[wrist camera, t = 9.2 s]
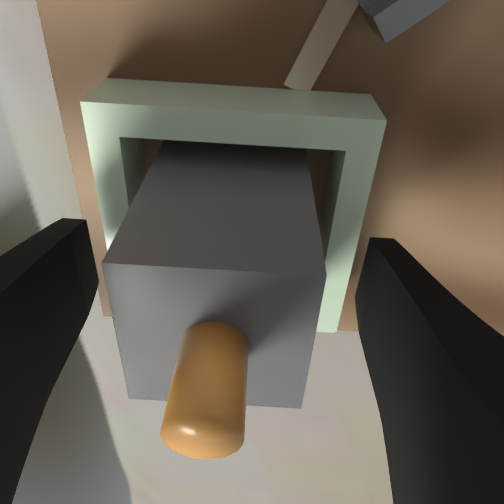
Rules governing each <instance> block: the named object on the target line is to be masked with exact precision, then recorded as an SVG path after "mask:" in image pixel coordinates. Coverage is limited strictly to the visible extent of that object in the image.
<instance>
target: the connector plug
mask: <svg viewBox="0 0 504 504" xmlns="http://www.w3.org/2000/svg"><path fill="white" fill-rule="evenodd" d="M102 268H103V273H104V278H105V283H106V288H107V293H108V298H109V303H110V308H111V313H112V318H113V323H114V328H115V332H116V337H117V342H118V347H119V352H120V357H121V362H122V367H123V372H124V377H125V382H126V387H127V392H128V397H129V399H144V400H161V401H167V405H166V409H165V414H164V418H163V423H162V427H161V438H162V440H163V441H164V443H165V444H166V445H167V446H168V447H169V448H171V449H172V450H174V451H176V452H178V453H180V454H183V455H186V456H189V457H194V458H201V459H214V458H221V457H225V456H228V455H231V454H233V453H234V452H236V451H237V450H239V449H240V448H241V446H242V445H243V442H244V431H245V411H246V405H248V406H265V407H283V408H300V409H301V406H302V401H303V396H304V391H305V386H306V381H307V375H308V370H309V365H310V360H311V355H312V350H313V344H314V339H315V334H316V329H317V324H318V319H319V314H320V308H321V303H322V298H323V293H324V288H325V283H326V277H327V274H326V268H325V262H324V256H323V250H322V243H321V237H320V231H319V225H318V219H317V213H316V207H315V201H314V194H313V188H312V182H311V176H310V170H309V164H308V158H307V152H306V148H292V147H275V146H259V145H243V144H227V143H210V142H194V141H178V140H164V141H163V143H162V145H161V146H160V148H159V150H158V152H157V154H156V156H155V158H154V160H153V162H152V164H151V166H150V168H149V170H148V172H147V174H146V176H145V178H144V180H143V182H142V184H141V186H140V188H139V190H138V192H137V194H136V196H135V198H134V200H133V202H132V204H131V206H130V208H129V210H128V211H127V213H126V215H125V217H124V219H123V221H122V223H121V225H120V227H119V229H118V231H117V233H116V235H115V237H114V239H113V241H112V243H111V245H110V247H109V249H108V251H107V253H106V255H105V257H104V259H103V261H102Z"/></svg>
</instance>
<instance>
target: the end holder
mask: <svg viewBox="0 0 504 504" xmlns="http://www.w3.org/2000/svg"><path fill="white" fill-rule="evenodd" d="M80 105H81V110H82V115H83V121H84V126H85V132H86V137H87V143H88V148H89V154H90V159H91V164H92V170H93V175H94V181H95V186H96V192H97V197H98V203H99V208H100V213H101V219H102V224H103V230H104V235H105V241H106V246H107V251H108V249H109V247H110V245H111V243H112V241H113V239H114V237H115V235H116V233H117V231H118V229H119V227H120V225H121V223H122V221H123V219H124V217H125V215H126V213H127V211H128V210H129V208H130V206H131V204H132V202H133V200H134V198H135V196H136V194H137V192H138V190H139V188H140V186H141V184H142V182H143V180H144V178H145V176H146V170H145V160H144V151H143V141H142V138H145V139H161V140H178V141H194V142H210V143H227V144H243V145H259V146H275V147H292V148H308V149H324V150H331V155H330V161H329V167H328V173H327V179H326V185H325V191H324V197H323V203H322V209H321V215H320V221H319V231H320V237H321V243H322V250H323V256H324V262H325V268H326V274H327V277H326V283H325V288H324V293H323V298H322V303H321V308H320V314H319V319H318V324H317V329H316V332H331V333H336V331H337V327H338V323H339V319H340V315H341V311H342V306H343V302H344V298H345V294H346V290H347V285H348V281H349V277H350V273H351V269H352V265H353V260H354V256H355V252H356V248H357V244H358V240H359V235H360V231H361V227H362V223H363V219H364V214H365V210H366V206H367V202H368V198H369V194H370V189H371V185H372V181H373V177H374V173H375V169H376V164H377V160H378V156H379V152H380V148H381V143H382V139H383V135H384V131H385V127H386V123H387V120H386V118H385V116H384V115H383V113H382V111H381V110H380V108H379V107H378V105H377V103H376V102H375V100H374V98H373V97H372V95H371V94H360V93H344V92H328V91H311V90H310V91H295V90H294V89H279V88H263V87H247V86H230V85H214V84H198V83H182V82H166V81H149V80H133V79H117V78H105V79H104V80H103V81H102V82H101V83H100V84H99V85H98V86H97V87H95V88H94V89H93V90H92V91H91V92H90V93H89V94H88V95H87V96H85V97H84V98H83V99H82V100H81V101H80Z"/></svg>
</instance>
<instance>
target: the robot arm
mask: <svg viewBox="0 0 504 504" xmlns="http://www.w3.org/2000/svg"><path fill="white" fill-rule="evenodd" d="M98 284H99V278H98V273H97V268H96V263H95V258H94V254H93V249H92V244H91V239H90V234H89V230H88V225H87V220H84V219H68V218H62V219H60V220H58V221H56V222H54V223H53V224H51V225H49V226H48V227H46V228H44V229H43V230H41V231H39V232H38V233H36V234H35V235H33V236H31V237H30V238H28V239H27V240H25V241H24V242H22V243H20V244H19V245H17V246H16V247H14V248H12V249H11V250H9V251H8V252H6V253H4V254H3V255H1V256H0V504H12V501H13V497H14V495H15V491H16V488H17V485H18V482H19V479H20V476H21V472H22V470H23V467H24V464H25V461H26V458H27V455H28V451H29V449H30V446H31V443H32V440H33V437H34V435H35V432H36V429H37V426H38V424H39V421H40V418H41V416H42V413H43V410H44V407H45V405H46V402H47V400H48V398H49V396H50V393H51V391H52V389H53V386H54V384H55V383H56V381H57V379H58V377H59V374H60V372H61V370H62V368H63V366H64V364H65V362H66V360H67V358H68V356H69V354H70V352H71V350H72V348H73V346H74V344H75V342H76V340H77V338H78V336H79V334H80V332H81V330H82V328H83V326H84V324H85V322H86V319H87V317H88V315H89V312H90V309H91V306H92V303H93V301H94V297H95V294H96V291H97V287H98ZM355 306H356V315H357V323H358V330H359V335H360V339H361V343H362V347H363V351H364V354H365V358H366V362H367V366H368V370H369V374H370V377H371V381H372V385H373V389H374V392H375V396H376V400H377V404H378V408H379V412H380V417H381V422H382V427H383V433H384V440H385V446H386V453H387V459H388V466H389V473H390V481H391V488H392V496H393V503H394V504H504V336H503V335H502V334H500V333H499V332H497V331H496V330H495V329H493V328H492V327H491V326H489V325H488V324H487V323H486V322H484V321H483V320H482V319H481V318H479V317H478V316H477V315H476V314H475V313H473V312H472V311H471V310H470V309H469V308H468V307H466V306H465V305H464V304H463V303H462V302H460V301H459V300H458V299H457V298H456V297H455V296H454V295H453V294H451V293H450V292H449V291H448V290H447V289H446V288H445V287H444V286H443V285H442V284H441V283H440V282H439V281H437V280H436V279H435V278H434V277H433V276H432V275H431V274H430V273H429V272H428V271H427V270H426V269H425V268H424V267H423V266H422V265H421V264H420V263H419V262H418V261H417V260H416V259H415V258H414V257H413V256H412V255H411V254H410V253H409V252H408V251H407V250H406V249H405V248H404V247H403V246H402V245H401V244H400V243H399V242H398V241H396V240H395V239H394V238H379V237H370V239H369V243H368V247H367V251H366V254H365V258H364V262H363V266H362V270H361V274H360V278H359V282H358V286H357V289H356V293H355Z"/></svg>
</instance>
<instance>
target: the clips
mask: <svg viewBox="0 0 504 504" xmlns="http://www.w3.org/2000/svg"><path fill="white" fill-rule="evenodd" d="M357 1H358V3H359V6H360V8H361V10H362V12H363V15H364V17H365V19H366V21H367V23H368V25H369V27H370V29H371V30H373V31H374V32H375V33H376V34H377V35H378V36H379V37H380V38H381V39H382V40H383V41H384V42H385V43H387V42H389V41H390V40H392V39H393V38H395V37H396V36H398V35H399V34H401V33H402V32H404V31H405V30H407V29H408V28H410V27H411V26H413V25H414V24H416V23H417V22H419V21H420V20H422V19H423V18H425V17H426V16H428V15H429V14H431V13H432V12H434V11H435V10H437V9H438V8H440V7H441V6H443V5H444V4H446V3H447V2H449V1H450V0H357Z"/></svg>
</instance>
